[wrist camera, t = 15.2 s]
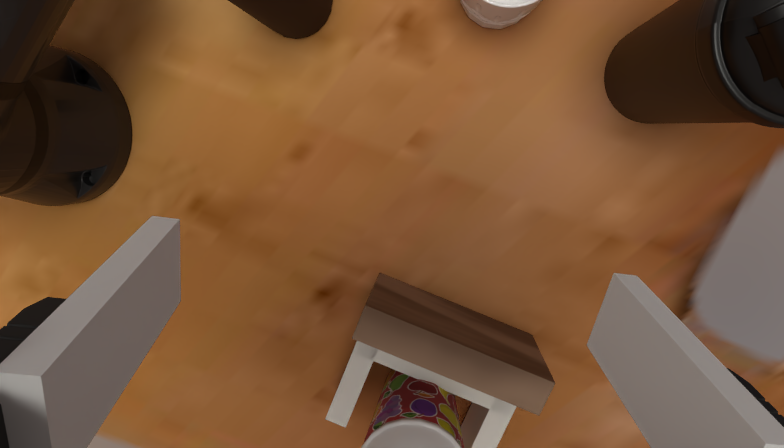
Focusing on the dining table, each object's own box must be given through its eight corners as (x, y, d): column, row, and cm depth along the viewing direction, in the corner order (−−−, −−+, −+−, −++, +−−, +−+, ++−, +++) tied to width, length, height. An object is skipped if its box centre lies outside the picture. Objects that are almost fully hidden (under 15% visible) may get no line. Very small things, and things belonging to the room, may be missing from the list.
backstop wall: (519, 361, 50) (539, 415, 40) (368, 299, 50) (351, 338, 40) (531, 334, 49) (555, 383, 39) (379, 272, 50) (365, 305, 40)
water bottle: (733, 99, 44) (1042, 55, 22) (622, 153, 46) (801, 165, 23) (687, -10, 43) (961, -174, 21) (575, 50, 45) (714, -43, 22)
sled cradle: (474, 444, 51) (479, 483, 46) (338, 387, 52) (325, 419, 46) (510, 367, 50) (520, 398, 44) (369, 309, 50) (360, 332, 44)
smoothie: (412, 437, 52) (396, 617, 33) (361, 376, 52) (314, 521, 32) (477, 393, 51) (502, 553, 31) (426, 329, 50) (418, 451, 30)
